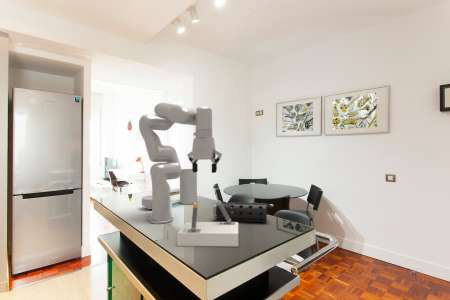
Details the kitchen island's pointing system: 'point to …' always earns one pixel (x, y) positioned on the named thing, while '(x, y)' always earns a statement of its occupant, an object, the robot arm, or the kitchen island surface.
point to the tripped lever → (194, 216)
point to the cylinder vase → (188, 186)
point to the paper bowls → (147, 202)
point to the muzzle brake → (242, 211)
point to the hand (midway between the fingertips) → (204, 172)
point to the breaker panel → (208, 234)
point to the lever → (224, 211)
